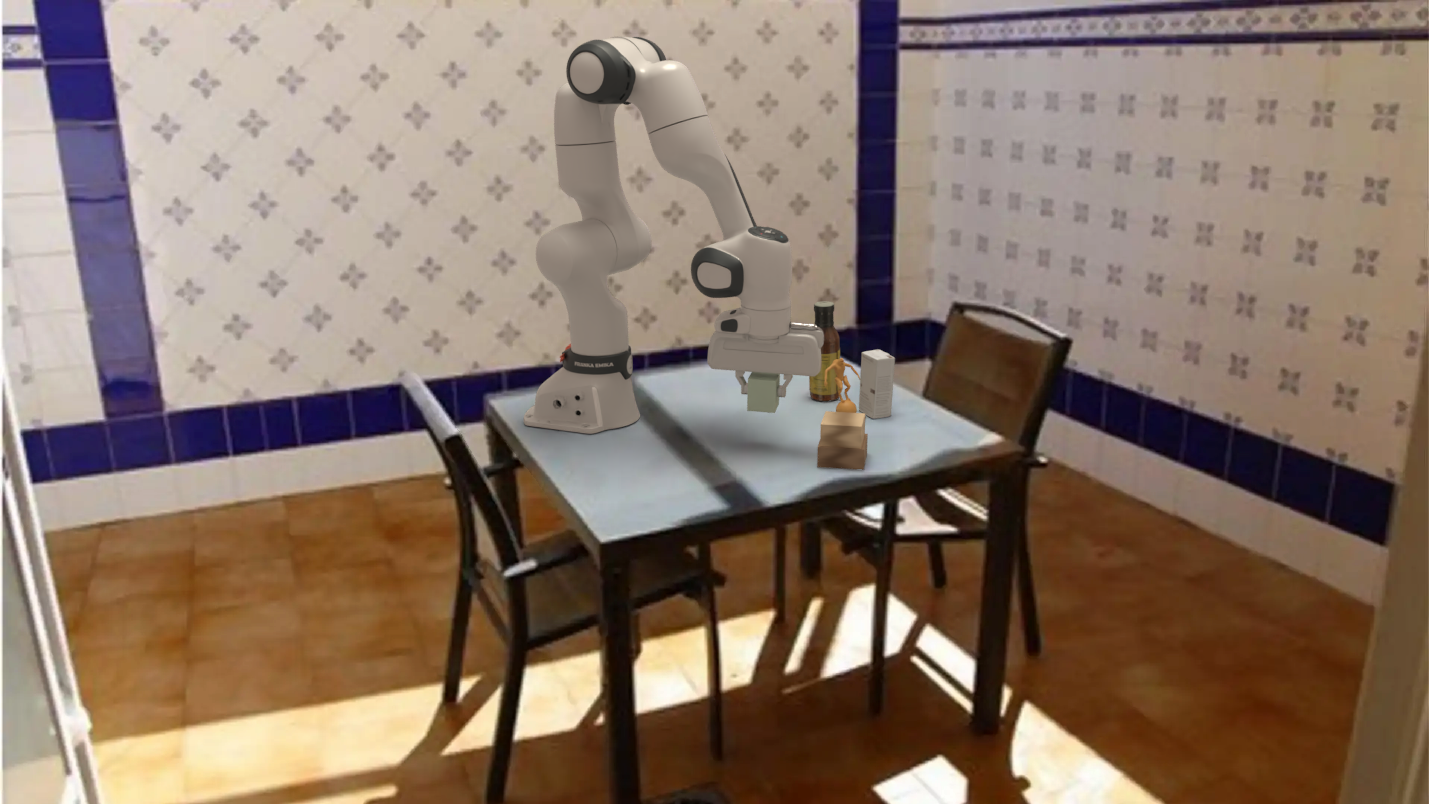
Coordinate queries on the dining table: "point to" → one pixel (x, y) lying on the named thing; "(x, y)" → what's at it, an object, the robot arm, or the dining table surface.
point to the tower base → (842, 456)
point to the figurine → (839, 370)
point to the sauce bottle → (826, 354)
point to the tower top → (842, 429)
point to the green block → (763, 392)
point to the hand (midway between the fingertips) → (763, 395)
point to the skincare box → (876, 383)
